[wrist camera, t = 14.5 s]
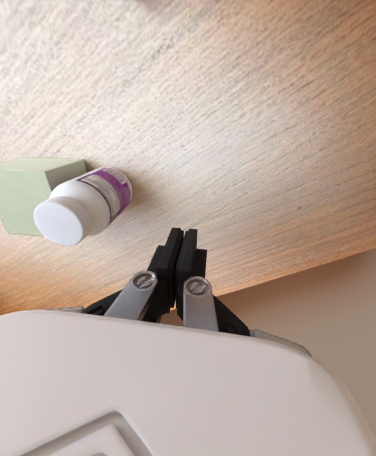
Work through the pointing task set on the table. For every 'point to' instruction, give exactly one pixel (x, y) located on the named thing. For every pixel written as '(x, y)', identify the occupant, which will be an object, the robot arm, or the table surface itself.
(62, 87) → the table surface
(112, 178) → the pill bottle
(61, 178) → the sage block
